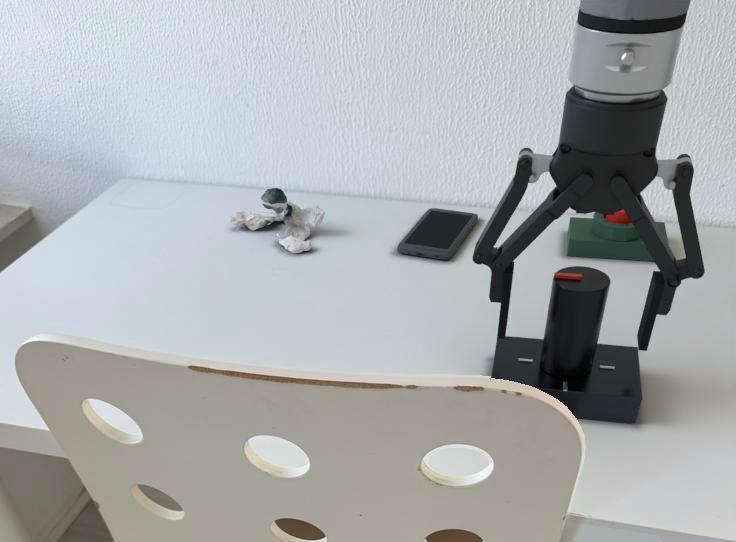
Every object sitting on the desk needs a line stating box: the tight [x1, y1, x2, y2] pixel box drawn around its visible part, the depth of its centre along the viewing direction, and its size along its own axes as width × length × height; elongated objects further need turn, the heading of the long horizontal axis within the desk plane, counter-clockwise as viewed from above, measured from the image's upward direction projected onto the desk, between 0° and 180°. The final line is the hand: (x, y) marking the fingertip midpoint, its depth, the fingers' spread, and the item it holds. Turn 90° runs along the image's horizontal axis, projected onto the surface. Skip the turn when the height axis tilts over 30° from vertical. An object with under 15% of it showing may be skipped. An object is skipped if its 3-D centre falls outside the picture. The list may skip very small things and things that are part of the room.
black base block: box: [490, 335, 643, 425], centre depth 76 cm, size 14×9×3 cm, turn 78°
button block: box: [566, 212, 670, 262], centre depth 99 cm, size 12×7×4 cm, turn 78°
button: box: [606, 210, 631, 224], centre depth 97 cm, size 4×4×2 cm
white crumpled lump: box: [228, 187, 326, 254], centre depth 105 cm, size 15×8×8 cm
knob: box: [540, 265, 612, 378], centre depth 72 cm, size 5×5×9 cm
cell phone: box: [397, 207, 479, 261], centre depth 104 cm, size 7×14×1 cm, turn 157°
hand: (570, 337), depth 73 cm, fingers open, 12 cm apart
